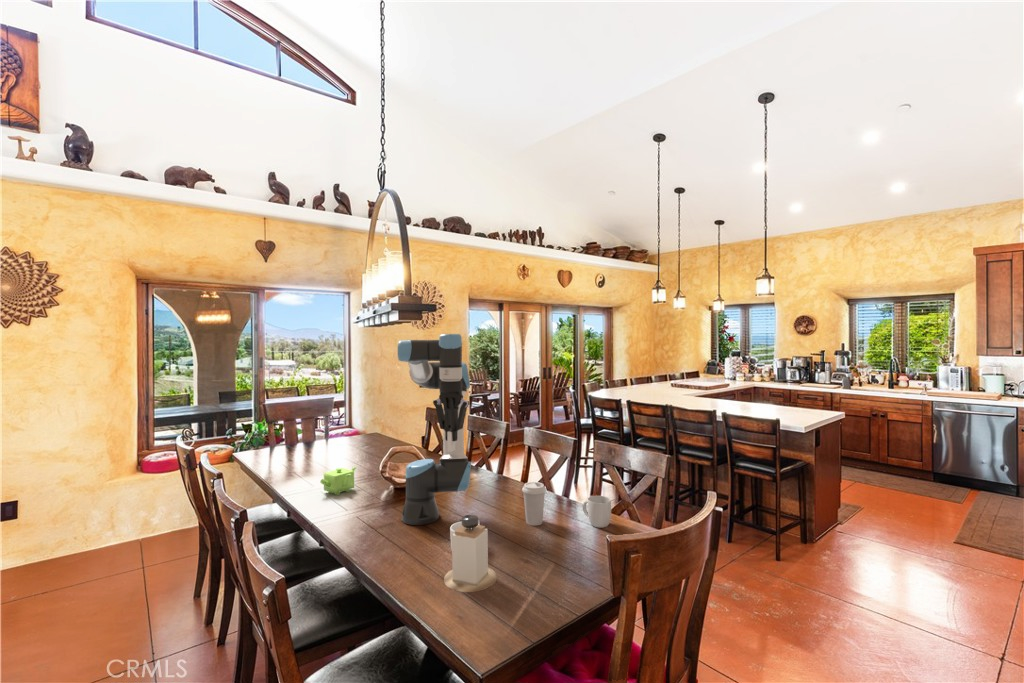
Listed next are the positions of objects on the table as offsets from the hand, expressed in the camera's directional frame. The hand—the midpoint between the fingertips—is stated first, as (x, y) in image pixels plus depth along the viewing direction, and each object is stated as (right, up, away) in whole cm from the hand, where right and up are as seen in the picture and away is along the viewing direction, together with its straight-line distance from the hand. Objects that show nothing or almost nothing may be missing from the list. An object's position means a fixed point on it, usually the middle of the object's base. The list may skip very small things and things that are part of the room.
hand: (451, 450), depth 156 cm
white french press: (+8, -36, -14) cm, 39 cm away
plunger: (+7, -33, -14) cm, 36 cm away
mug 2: (+53, -36, +29) cm, 71 cm away
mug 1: (+5, -37, +8) cm, 38 cm away
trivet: (+8, -37, -14) cm, 40 cm away
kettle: (-63, -37, +70) cm, 101 cm away
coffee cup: (+29, -36, +31) cm, 56 cm away
